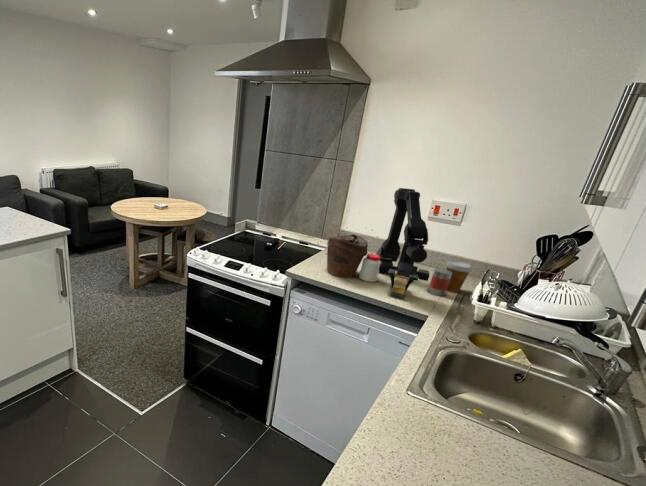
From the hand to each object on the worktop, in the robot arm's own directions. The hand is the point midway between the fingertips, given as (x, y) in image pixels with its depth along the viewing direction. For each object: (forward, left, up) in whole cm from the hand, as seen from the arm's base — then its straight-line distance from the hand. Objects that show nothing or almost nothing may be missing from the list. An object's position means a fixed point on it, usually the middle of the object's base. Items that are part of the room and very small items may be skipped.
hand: (398, 289), depth 165 cm
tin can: (+15, +11, -1) cm, 19 cm away
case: (-25, +9, -1) cm, 27 cm away
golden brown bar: (0, 0, -1) cm, 1 cm away
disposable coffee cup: (+21, +20, -1) cm, 29 cm away
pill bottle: (-13, +9, -1) cm, 16 cm away
